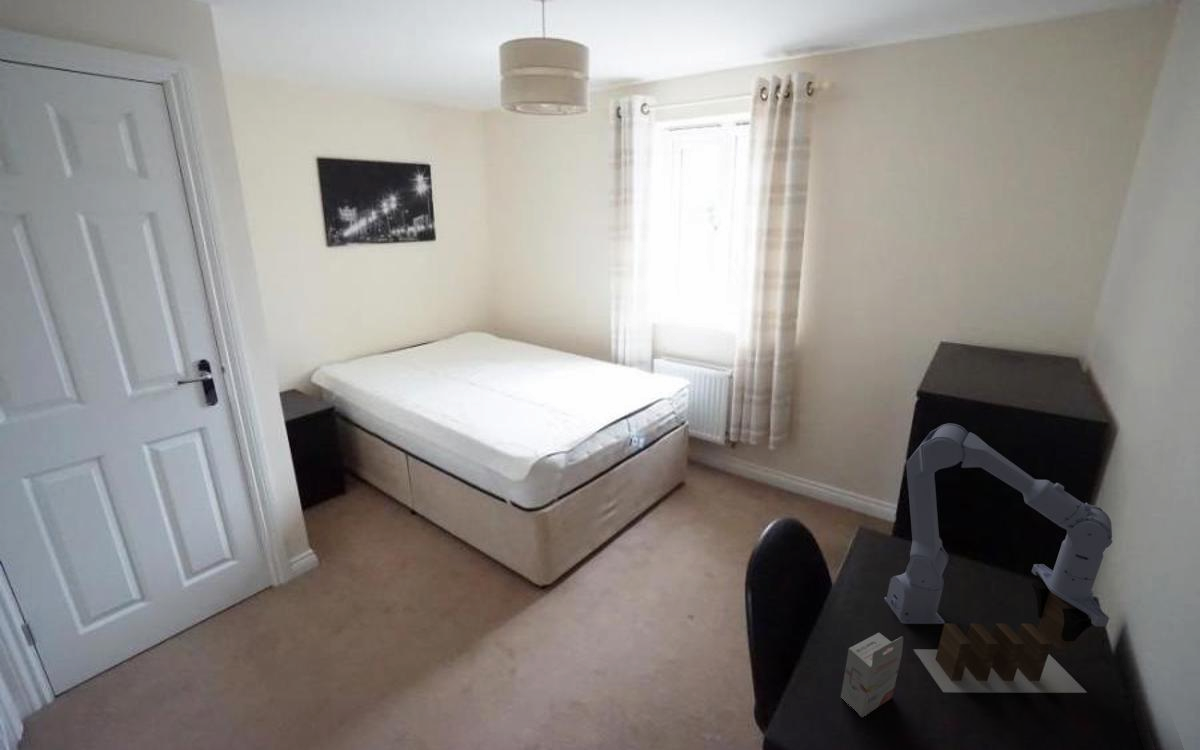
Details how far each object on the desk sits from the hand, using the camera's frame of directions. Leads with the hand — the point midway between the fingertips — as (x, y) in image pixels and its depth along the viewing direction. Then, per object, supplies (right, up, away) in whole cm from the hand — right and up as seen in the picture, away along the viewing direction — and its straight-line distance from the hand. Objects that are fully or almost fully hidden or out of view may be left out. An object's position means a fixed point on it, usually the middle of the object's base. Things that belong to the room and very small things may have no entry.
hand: (1056, 628), depth 103 cm
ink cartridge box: (-39, -11, -4) cm, 41 cm away
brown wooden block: (0, -2, +1) cm, 2 cm away
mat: (-10, -9, +2) cm, 14 cm away
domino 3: (-10, -9, +2) cm, 13 cm away
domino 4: (-5, -9, +2) cm, 10 cm away
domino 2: (-15, -9, +2) cm, 17 cm away
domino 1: (-20, -9, +2) cm, 22 cm away
